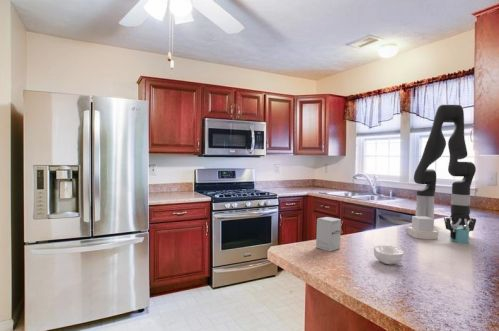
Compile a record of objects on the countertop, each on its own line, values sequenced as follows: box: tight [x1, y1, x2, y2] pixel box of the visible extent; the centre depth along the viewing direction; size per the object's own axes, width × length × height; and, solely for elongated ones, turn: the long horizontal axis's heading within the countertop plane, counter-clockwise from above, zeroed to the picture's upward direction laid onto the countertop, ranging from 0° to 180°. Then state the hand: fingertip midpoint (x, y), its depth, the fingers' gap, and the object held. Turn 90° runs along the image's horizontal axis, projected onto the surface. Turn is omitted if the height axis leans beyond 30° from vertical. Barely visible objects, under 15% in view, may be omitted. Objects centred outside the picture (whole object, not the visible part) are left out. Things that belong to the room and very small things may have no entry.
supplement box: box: [315, 216, 342, 252], centre depth 125 cm, size 7×7×13 cm
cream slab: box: [406, 226, 439, 240], centre depth 149 cm, size 10×10×4 cm
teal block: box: [450, 228, 470, 244], centre depth 140 cm, size 5×5×6 cm
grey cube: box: [411, 215, 435, 231], centre depth 148 cm, size 7×7×6 cm
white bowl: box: [372, 244, 404, 265], centre depth 109 cm, size 10×12×7 cm
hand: (459, 239), depth 140 cm, fingers closed on teal block, 5 cm apart
